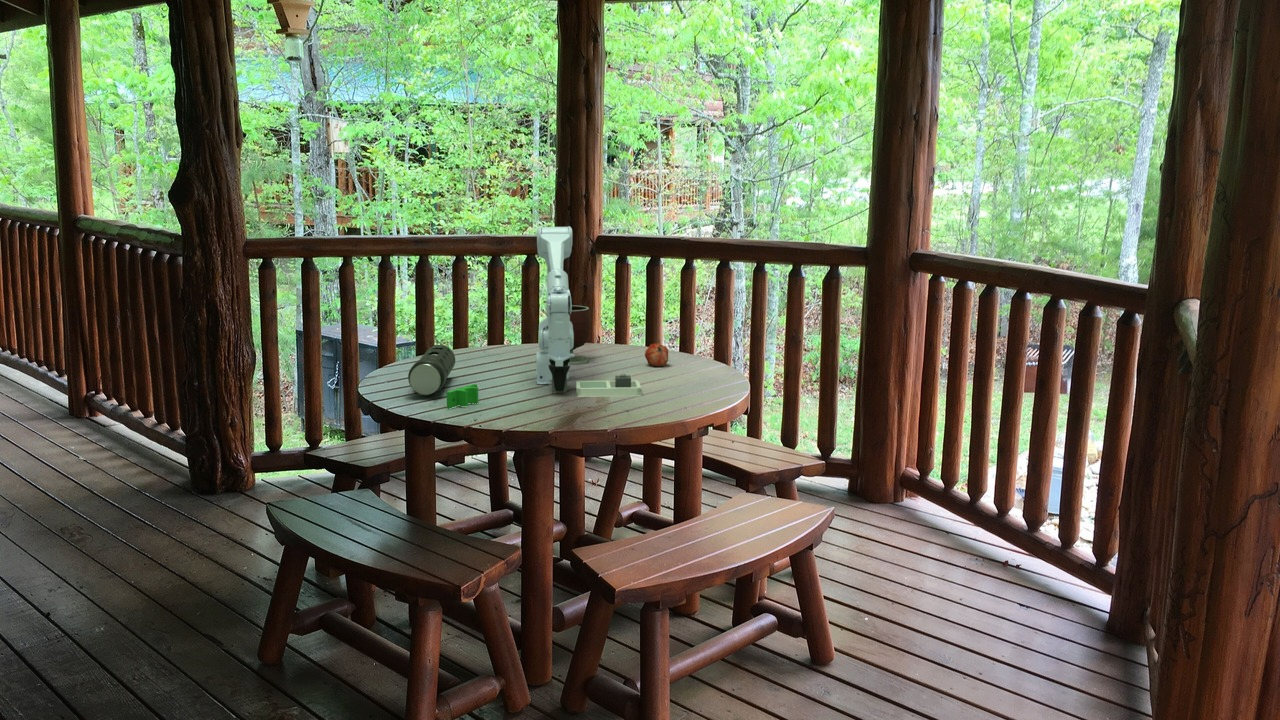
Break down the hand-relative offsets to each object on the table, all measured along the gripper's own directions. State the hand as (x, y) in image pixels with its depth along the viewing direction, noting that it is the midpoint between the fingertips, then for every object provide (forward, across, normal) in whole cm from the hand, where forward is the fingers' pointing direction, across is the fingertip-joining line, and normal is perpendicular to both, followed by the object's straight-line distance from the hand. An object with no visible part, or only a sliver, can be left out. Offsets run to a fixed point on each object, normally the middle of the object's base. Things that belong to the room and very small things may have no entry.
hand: (559, 387), depth 261 cm
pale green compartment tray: (+2, -2, -13) cm, 13 cm away
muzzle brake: (+2, +10, +35) cm, 36 cm away
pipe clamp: (+2, -10, +24) cm, 26 cm away
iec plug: (+2, 0, 0) cm, 2 cm away
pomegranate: (+2, +40, -30) cm, 50 cm away
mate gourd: (+2, +48, -2) cm, 48 cm away
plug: (+1, -2, -17) cm, 17 cm away
